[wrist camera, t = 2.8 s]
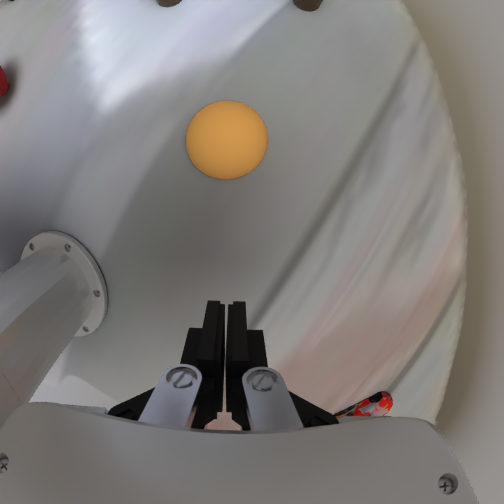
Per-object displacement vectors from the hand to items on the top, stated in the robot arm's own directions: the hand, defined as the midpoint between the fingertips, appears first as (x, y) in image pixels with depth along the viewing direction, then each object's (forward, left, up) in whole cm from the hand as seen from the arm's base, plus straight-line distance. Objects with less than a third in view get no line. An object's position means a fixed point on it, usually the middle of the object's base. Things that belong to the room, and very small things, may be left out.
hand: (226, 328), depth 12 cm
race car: (+19, -27, -14) cm, 36 cm away
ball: (0, +9, -10) cm, 13 cm away
